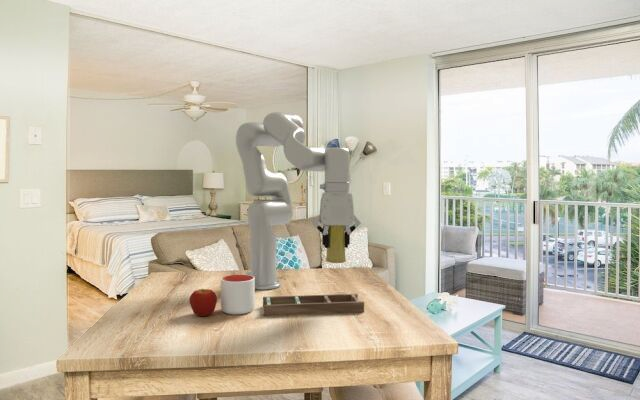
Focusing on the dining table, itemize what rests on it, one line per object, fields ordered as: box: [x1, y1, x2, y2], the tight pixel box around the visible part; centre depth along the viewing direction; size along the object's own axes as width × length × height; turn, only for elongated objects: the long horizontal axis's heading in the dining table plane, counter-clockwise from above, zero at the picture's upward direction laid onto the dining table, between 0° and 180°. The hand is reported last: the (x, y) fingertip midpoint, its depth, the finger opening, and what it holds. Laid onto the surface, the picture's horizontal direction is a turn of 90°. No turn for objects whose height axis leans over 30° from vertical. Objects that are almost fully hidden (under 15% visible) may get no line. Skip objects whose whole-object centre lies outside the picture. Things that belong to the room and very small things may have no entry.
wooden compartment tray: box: [262, 293, 365, 317], centre depth 143 cm, size 10×30×3 cm, turn 98°
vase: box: [325, 226, 347, 264], centre depth 143 cm, size 6×6×14 cm
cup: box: [220, 274, 256, 315], centre depth 141 cm, size 10×10×10 cm
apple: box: [189, 288, 218, 317], centre depth 137 cm, size 8×8×8 cm
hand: (335, 246), depth 143 cm, fingers closed on vase, 5 cm apart
